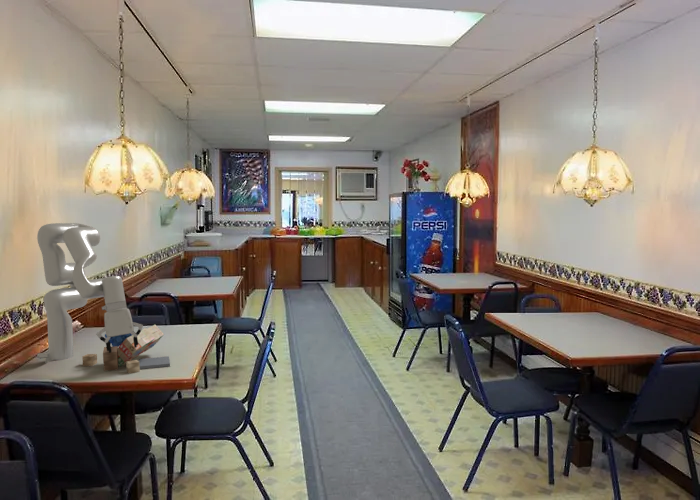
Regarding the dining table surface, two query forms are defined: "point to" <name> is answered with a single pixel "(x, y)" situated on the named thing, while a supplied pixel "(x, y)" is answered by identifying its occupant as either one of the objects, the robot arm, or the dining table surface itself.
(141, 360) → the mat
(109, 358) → the walnut block
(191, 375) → the dining table surface
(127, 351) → the stack of blocks
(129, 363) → the maple cube
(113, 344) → the grapes
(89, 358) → the oak cube
